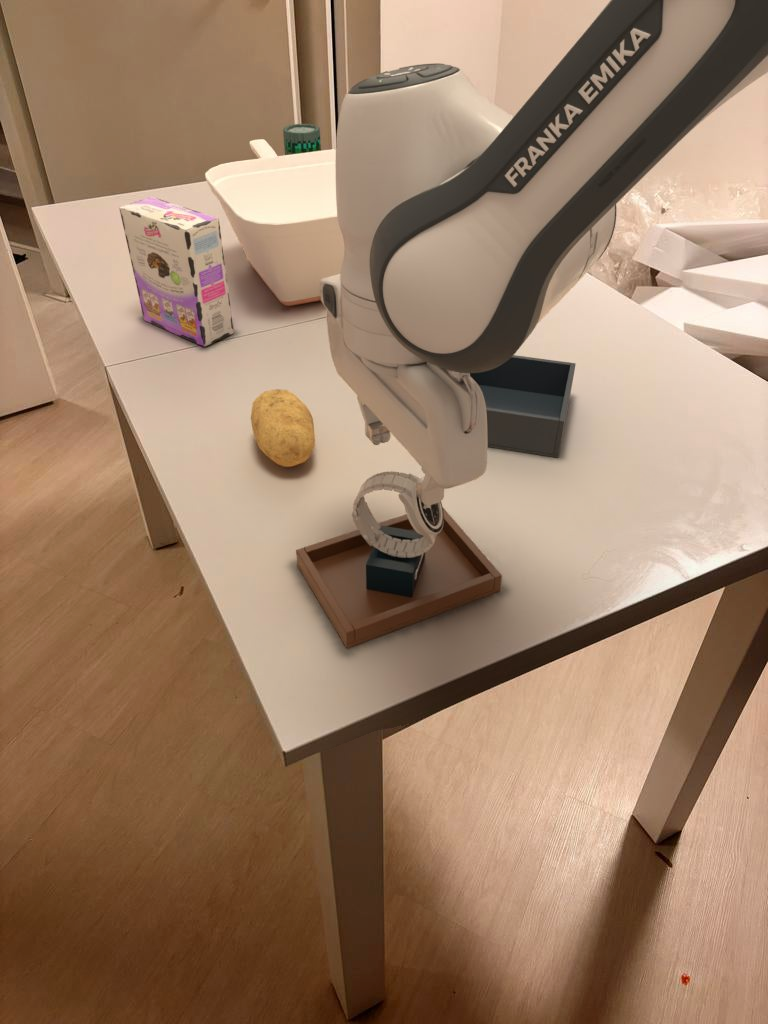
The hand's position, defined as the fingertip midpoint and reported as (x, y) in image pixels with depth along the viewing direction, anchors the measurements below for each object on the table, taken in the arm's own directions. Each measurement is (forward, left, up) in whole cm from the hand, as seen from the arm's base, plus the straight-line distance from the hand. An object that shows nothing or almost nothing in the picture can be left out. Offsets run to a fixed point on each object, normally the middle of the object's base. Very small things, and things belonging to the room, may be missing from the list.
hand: (402, 468), depth 67 cm
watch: (0, 0, -13) cm, 13 cm away
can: (+41, -88, -13) cm, 98 cm away
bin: (-6, -30, -13) cm, 33 cm away
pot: (+34, -68, -13) cm, 77 cm away
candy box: (+42, -41, -13) cm, 60 cm away
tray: (0, 0, -13) cm, 13 cm away
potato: (+18, -16, -13) cm, 27 cm away
